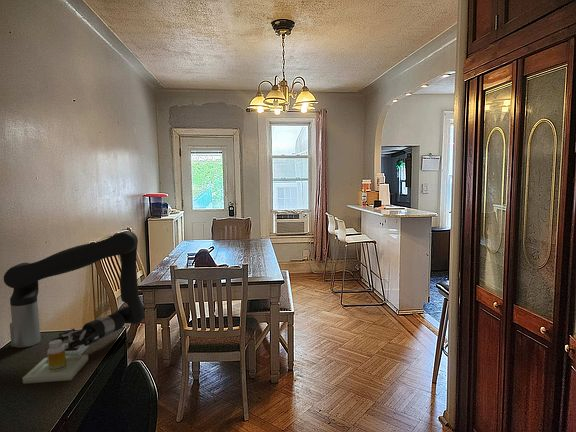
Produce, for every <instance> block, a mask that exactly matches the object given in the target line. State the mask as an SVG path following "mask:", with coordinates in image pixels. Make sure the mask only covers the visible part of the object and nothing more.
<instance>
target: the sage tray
mask: <svg viewBox="0 0 576 432" xmlns="http://www.w3.org/2000/svg"><path fill="white" fill-rule="evenodd" d="M88 361H89V354H81V355H77V356H66V368H64V369H63V370H60V371H56V372H51V371H49V368H48V357H44V358H43V359H42V360H41V361H39V363H37V364H36V365H35V366H34V367H33V368H32V369H30V371H28V372H27V373H26V374H25V375H24V376H22V384H35V383H36V384H37V383H48V382H49V383H51V382H63V381H64V382H65V381H72V380H73V378H75V376H76V375H77V374H78V373H79V372H80V371H81V369H82V368H83V367H84V366H85V365H86V364H87V362H88Z"/></svg>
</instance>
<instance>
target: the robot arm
mask: <svg viewBox="0 0 576 432" xmlns="http://www.w3.org/2000/svg"><path fill="white" fill-rule="evenodd" d="M137 236H138V235H136V234H135V232H133V231H131V230H130V231H129V230H124V231H120V232H118V233H116V234H114V235H111V236H109V237H108V238H104V239H103V240H99V241H97V242H91V243H85V244H81V245H76V246H73V247H70V248H67V249H63V250H61V251H59V252H56V253H54V254H51V255H49V256H48V257H45V258H43V259H40V260H37V261H34V262H21V263H19V264H16V265H13V266H11V267H10V268H8V269H7V271H6V272H5V273H4V275H3V282H4V284H5V285H6V286H7V287H9V288H12V289H13V291H12V294H11V296H10V298H9V302H10V303H9V304H10V305H9V306H10V316H11V323H9V332H10V345H11V346H10V347H12V348H19V349H20V348H27V347H32V346H36V345H38V344H39V343H40V342H41V340H42V339H41V331H40V329H41V328H40V315H39V305H38V304H39V302H38V295H39V289H40V288H39V281H41V280H44V279H46V278H50V277H51V278H52V277H56V276H60V275H63V274H67V273H70V272H73V271H77V270H80V269H83V268H85V267H87V266H91V265H93V264H95V263H97V262H99V261H101V260H104V259H108V258H111V257H115V256H120V265H121V266H120V277H119V278H120V279H119V289H120V298H121V299H120V300H121V301H122V302H123V303H125V304H127V306H123V307H120V308H118V309H117V310H116V311H114V312H113V313H110V314H109V315H106V316H102V317H99V318H97V319H93V320H92V321H88V322H87V323H84V324H83V326H82V328H81V329H77V330H76V329H75V328H71V329H69V330H66V331H63V332H59V334H58V336H57V337H55V338H53V339H52V340H51V341H53V340H62V343H68V349H67V350H73V348H74V349H76V348H75V347H77V346H82V345H84V346H88V345H89V346H90V345H91V344H93V343H94V344H95V342H98V341H99V340H101V339H103V338H105V337H107V336H109V335H111V334H112V333H114V332H117V331H118V330H121V329H122V328H123V327H124V325H125V324H131V325H132V324H133V325H138V324H140V323H141V322H142V321H143V319H144V317H145V310H144V306H143V303H142V300H141V298H140V296H139V295H140V294H139V282H138V274H137V273H138V271H137V255H138V254H137V252H138V241H139V240H138V237H137ZM89 346H88V347H89Z"/></svg>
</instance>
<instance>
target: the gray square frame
mask: <svg viewBox="0 0 576 432" xmlns="http://www.w3.org/2000/svg"><path fill="white" fill-rule="evenodd" d="M68 343H69V342H62V345H63V346H64V347H65V355H66V356H77V355H83V353H84V352H85V350H87V349H88V348H89V346H90V345H88V346H84V345H82V346H77V347H75V348H73V349H74V350H73V349H72V350H69V349H68ZM75 349H76V350H75Z"/></svg>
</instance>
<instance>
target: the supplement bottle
mask: <svg viewBox="0 0 576 432" xmlns="http://www.w3.org/2000/svg"><path fill="white" fill-rule="evenodd" d="M52 340H53V339H52ZM52 340H51V341H49V342H48V347H49V348H48V349H47V352H46V353H47V358H48V368H49V371H51V372H56V371H60V370H63V369H64V368H66V355H65V351H66V350H65V347H64V346H63V345H62V344H63V342H62V340H53V341H52Z"/></svg>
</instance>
